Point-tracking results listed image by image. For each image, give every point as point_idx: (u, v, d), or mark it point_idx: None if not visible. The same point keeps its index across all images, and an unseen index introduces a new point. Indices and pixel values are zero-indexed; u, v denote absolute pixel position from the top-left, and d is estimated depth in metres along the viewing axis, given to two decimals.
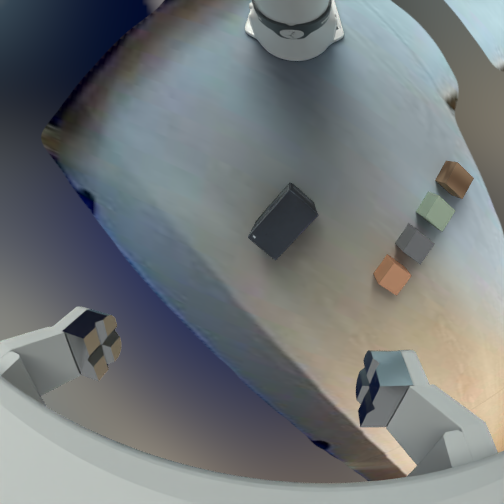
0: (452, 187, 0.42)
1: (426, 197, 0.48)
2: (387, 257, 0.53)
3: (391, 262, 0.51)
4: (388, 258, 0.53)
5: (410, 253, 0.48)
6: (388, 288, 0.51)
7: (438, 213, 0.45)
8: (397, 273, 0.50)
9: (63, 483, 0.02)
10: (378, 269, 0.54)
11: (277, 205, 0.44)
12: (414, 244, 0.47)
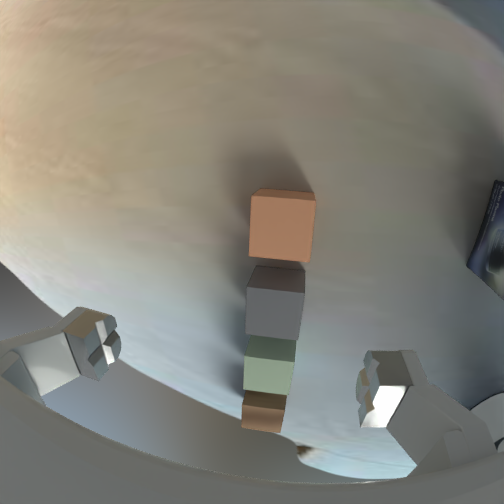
0: (270, 410, 0.30)
1: None
2: None
3: None
4: None
5: (285, 295, 0.24)
6: (284, 202, 0.22)
7: (271, 375, 0.28)
8: (287, 245, 0.23)
9: (64, 483, 0.02)
10: None
11: None
12: (287, 315, 0.25)
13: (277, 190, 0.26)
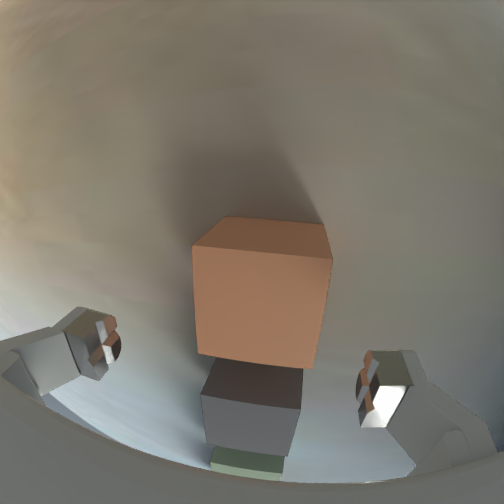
0: None
1: None
2: None
3: None
4: None
5: (266, 411, 0.13)
6: (261, 260, 0.10)
7: None
8: (270, 342, 0.11)
9: (64, 483, 0.02)
10: None
11: None
12: (270, 432, 0.13)
13: (255, 221, 0.14)
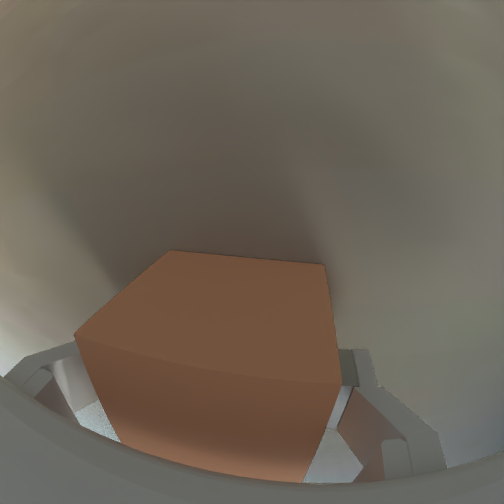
0: None
1: None
2: None
3: None
4: None
5: None
6: (192, 378, 0.04)
7: None
8: (228, 470, 0.06)
9: (64, 484, 0.02)
10: None
11: None
12: None
13: (211, 262, 0.08)
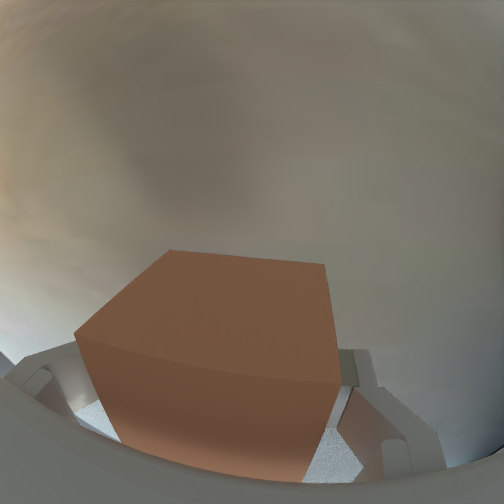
0: None
1: None
2: None
3: None
4: None
5: None
6: (193, 377, 0.04)
7: None
8: (228, 469, 0.06)
9: (64, 483, 0.02)
10: None
11: None
12: None
13: (211, 262, 0.09)
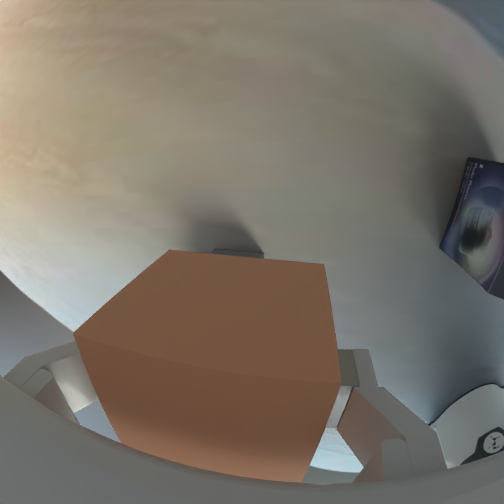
0: None
1: None
2: None
3: None
4: None
5: None
6: (192, 377, 0.04)
7: None
8: (227, 469, 0.06)
9: (64, 484, 0.02)
10: None
11: None
12: None
13: (210, 262, 0.08)
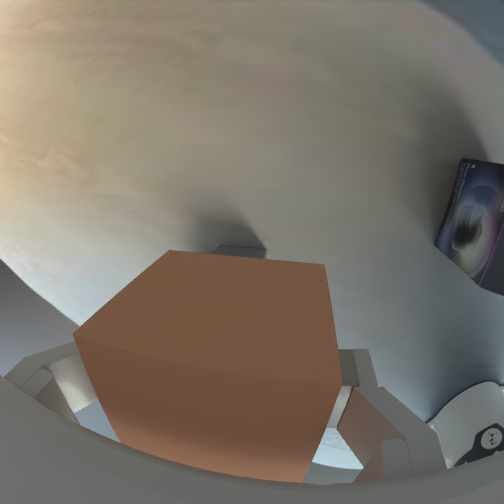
0: None
1: None
2: None
3: None
4: None
5: None
6: (192, 378, 0.04)
7: None
8: (228, 470, 0.06)
9: (64, 483, 0.02)
10: None
11: None
12: None
13: (210, 262, 0.08)
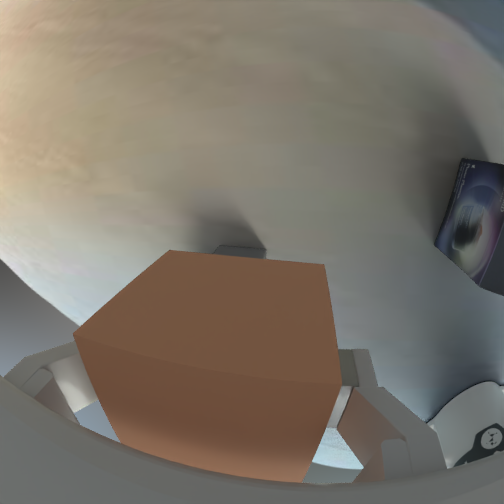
0: None
1: None
2: None
3: None
4: None
5: None
6: (192, 378, 0.04)
7: None
8: (227, 470, 0.06)
9: (63, 483, 0.02)
10: None
11: None
12: None
13: (210, 262, 0.08)
